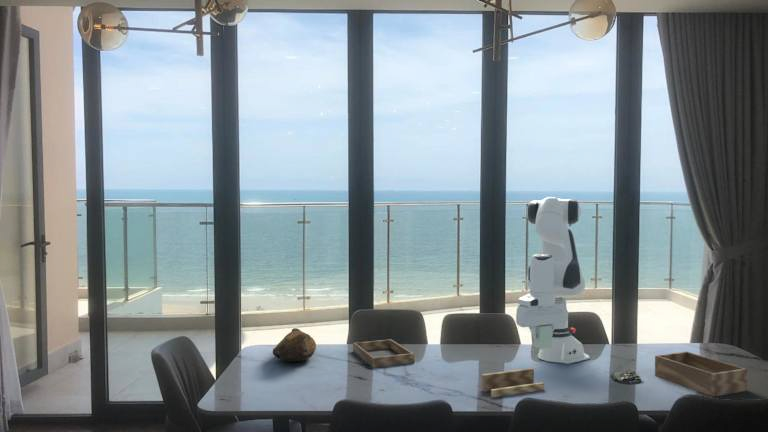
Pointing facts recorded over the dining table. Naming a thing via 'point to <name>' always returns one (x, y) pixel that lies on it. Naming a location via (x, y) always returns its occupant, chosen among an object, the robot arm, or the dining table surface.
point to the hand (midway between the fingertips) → (542, 337)
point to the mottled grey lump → (626, 377)
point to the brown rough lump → (295, 346)
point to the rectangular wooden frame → (402, 358)
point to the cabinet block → (543, 337)
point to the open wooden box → (701, 373)
